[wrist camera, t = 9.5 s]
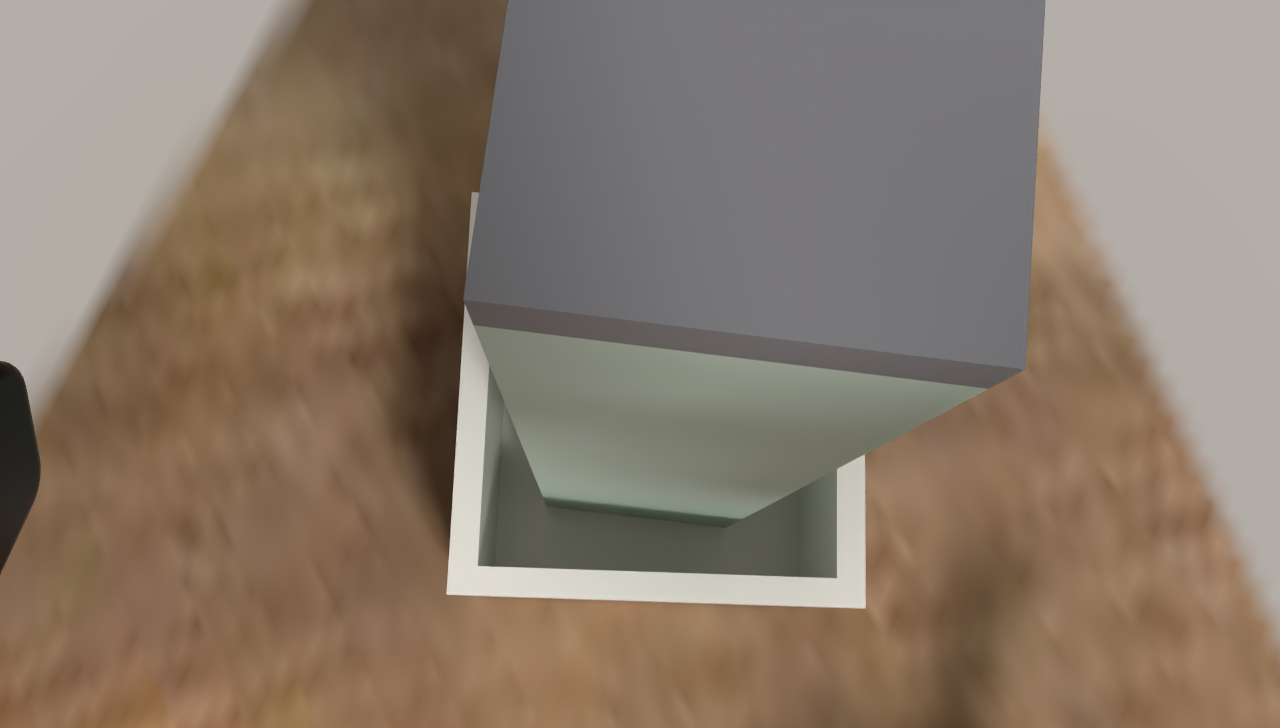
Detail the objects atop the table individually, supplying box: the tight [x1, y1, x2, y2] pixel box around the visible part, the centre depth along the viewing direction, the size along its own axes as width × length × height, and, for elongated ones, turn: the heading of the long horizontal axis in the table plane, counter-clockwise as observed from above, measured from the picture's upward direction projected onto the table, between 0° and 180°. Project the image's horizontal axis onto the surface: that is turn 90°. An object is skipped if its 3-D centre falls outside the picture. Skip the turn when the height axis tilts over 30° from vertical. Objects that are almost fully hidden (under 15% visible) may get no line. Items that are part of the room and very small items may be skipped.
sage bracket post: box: [463, 0, 1045, 528], centre depth 14 cm, size 3×3×14 cm
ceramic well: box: [447, 192, 866, 608], centre depth 19 cm, size 6×6×4 cm
